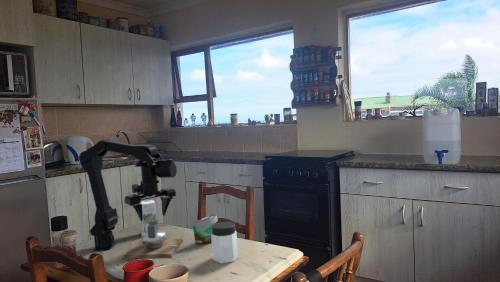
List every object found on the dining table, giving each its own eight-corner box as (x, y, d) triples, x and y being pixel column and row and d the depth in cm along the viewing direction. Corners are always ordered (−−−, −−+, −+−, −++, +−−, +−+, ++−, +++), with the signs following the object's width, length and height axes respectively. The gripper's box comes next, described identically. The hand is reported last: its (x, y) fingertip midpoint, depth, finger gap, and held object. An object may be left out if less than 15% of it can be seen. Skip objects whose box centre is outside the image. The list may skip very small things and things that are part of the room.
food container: (204, 248, 140) (202, 222, 139) (192, 245, 143) (191, 220, 143) (225, 238, 149) (223, 214, 149) (214, 236, 153) (212, 212, 153)
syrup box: (155, 230, 165) (152, 199, 164) (157, 234, 160) (155, 201, 159) (142, 233, 163) (139, 201, 162) (144, 236, 158) (141, 203, 157)
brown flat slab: (123, 258, 134) (122, 249, 133) (139, 243, 150) (139, 235, 149) (171, 256, 132) (171, 248, 132) (183, 241, 148) (182, 234, 148)
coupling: (164, 243, 136) (163, 225, 136) (139, 246, 135) (138, 227, 135) (167, 235, 147) (166, 217, 146) (144, 237, 146) (143, 219, 145)
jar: (214, 265, 123) (211, 230, 122) (211, 256, 131) (209, 223, 130) (240, 261, 125) (238, 226, 124) (235, 252, 133) (233, 220, 132)
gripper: (161, 172, 151) (164, 209, 152) (117, 179, 139) (120, 220, 140) (175, 174, 143) (178, 214, 144) (129, 182, 131) (132, 225, 132)
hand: (152, 218), depth 140 cm, fingers open, 9 cm apart
